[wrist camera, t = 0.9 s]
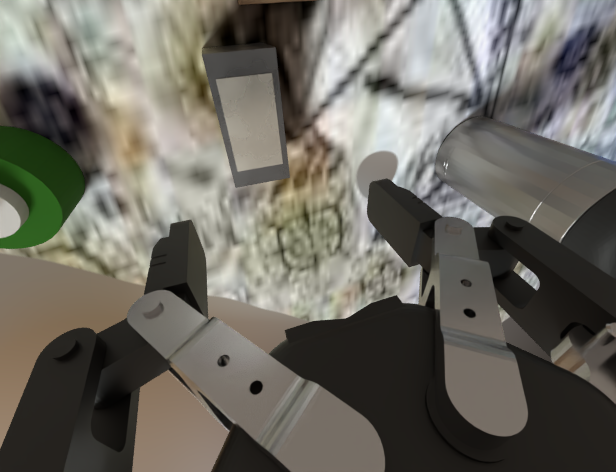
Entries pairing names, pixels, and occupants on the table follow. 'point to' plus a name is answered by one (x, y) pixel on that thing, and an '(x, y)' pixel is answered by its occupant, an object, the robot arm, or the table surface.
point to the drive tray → (266, 1)
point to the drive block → (249, 110)
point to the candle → (35, 188)
